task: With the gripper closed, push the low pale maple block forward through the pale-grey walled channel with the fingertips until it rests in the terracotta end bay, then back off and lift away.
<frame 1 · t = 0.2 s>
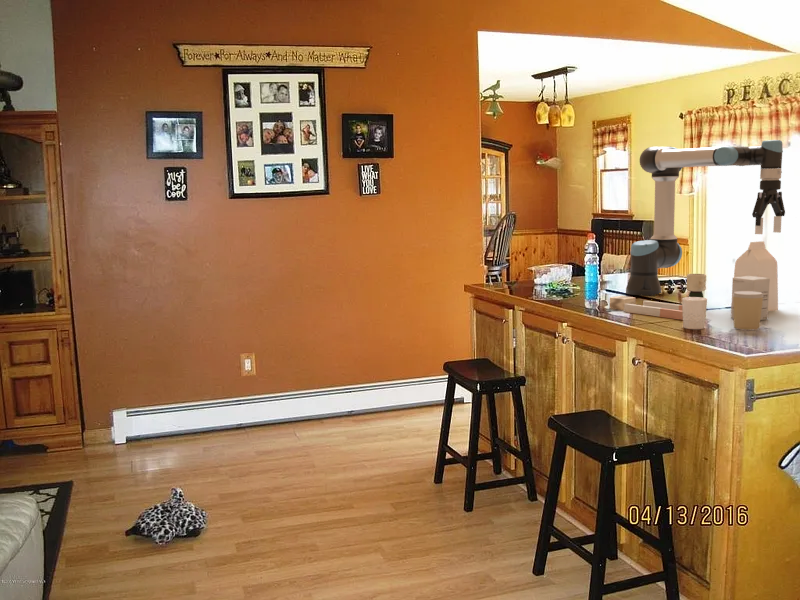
hand: (768, 233, 310), 28 cm above the counter, tool pointing down, fingers open, 13 cm apart
channel: (663, 313, 292), on the counter
character mug: (695, 307, 305), on the counter
milk: (754, 310, 297), on the counter
maple block: (622, 308, 307), on the counter
supplement box: (748, 319, 277), on the counter
coffee cup: (746, 328, 260), on the counter
white cup: (693, 328, 263), on the counter
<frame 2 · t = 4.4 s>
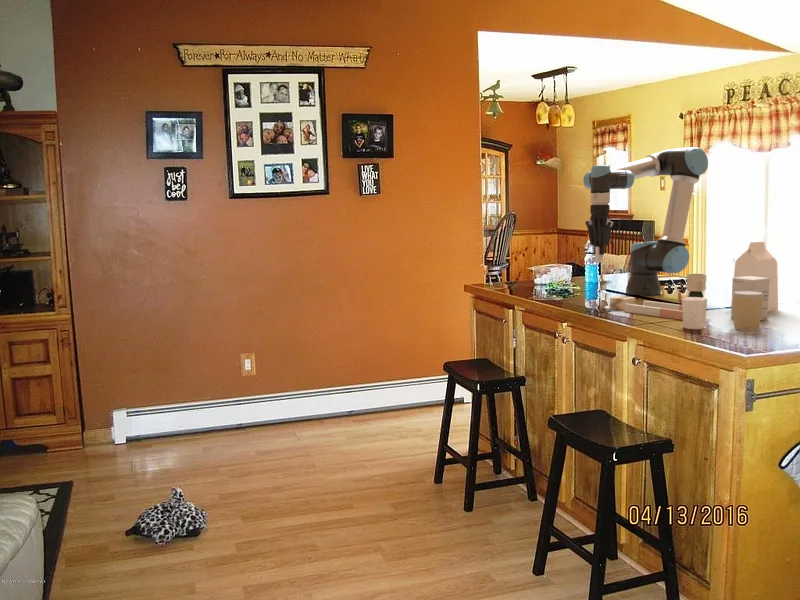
hand: (598, 262, 314), 17 cm above the counter, tool pointing down, fingers closed
nothing on the counter moved.
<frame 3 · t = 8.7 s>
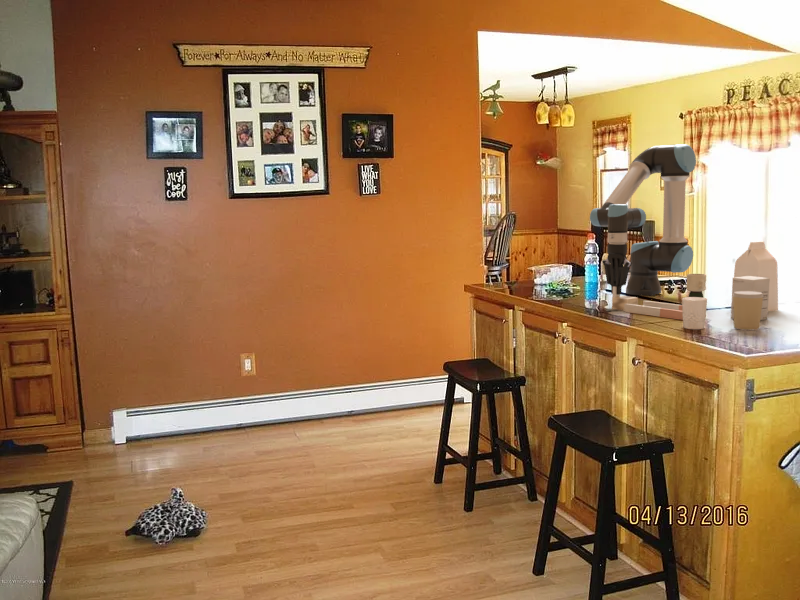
hand: (616, 302, 309), 2 cm above the counter, tool pointing down, fingers closed
maple block: (624, 308, 306), on the counter, touching gripper
everything else where it was.
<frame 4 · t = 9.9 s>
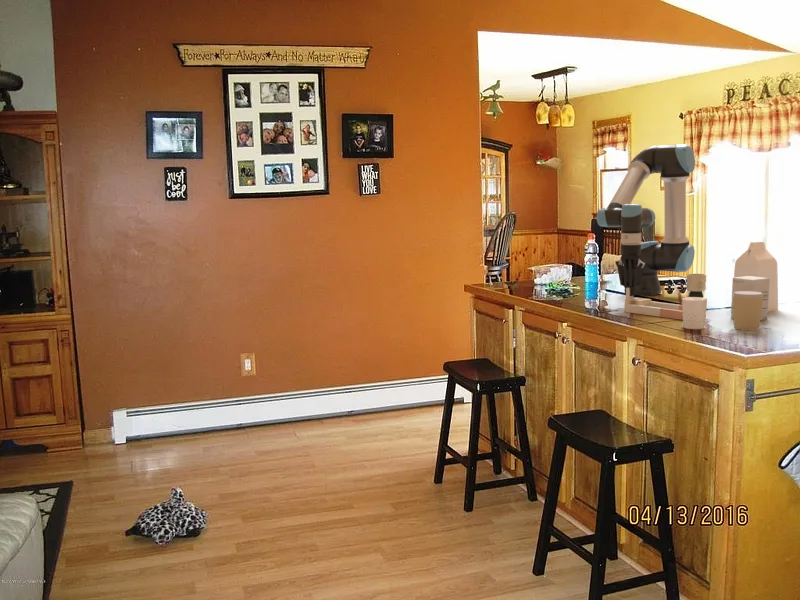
hand: (629, 304, 304), 2 cm above the counter, tool pointing down, fingers closed
maple block: (637, 310, 300), on the counter
everything else where it was.
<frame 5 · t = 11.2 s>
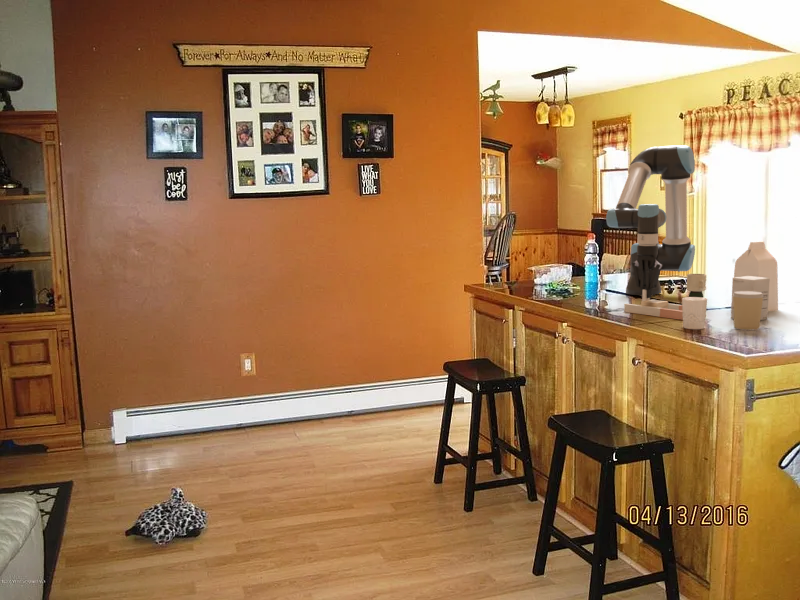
hand: (645, 306, 298), 2 cm above the counter, tool pointing down, fingers closed
maple block: (654, 313, 294), on the counter
everything else where it was.
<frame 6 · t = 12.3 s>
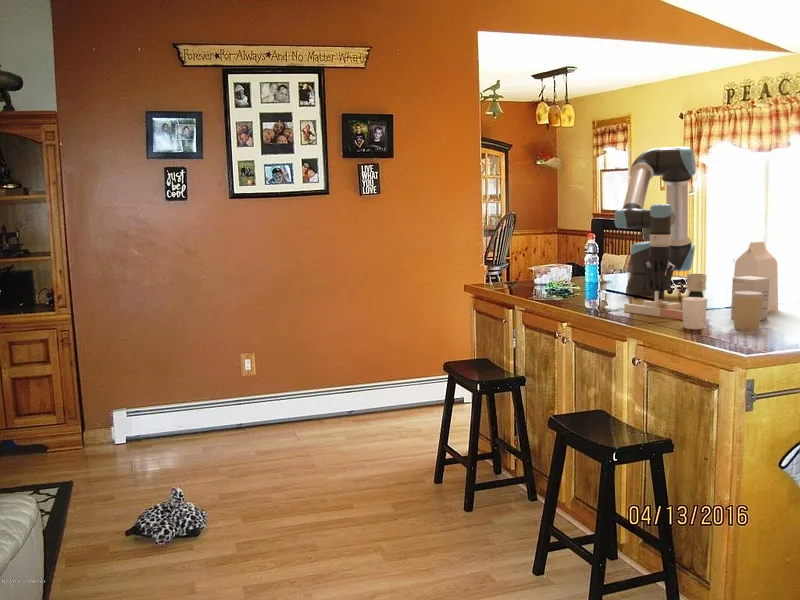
hand: (658, 307, 293), 2 cm above the counter, tool pointing down, fingers closed
maple block: (666, 314, 290), on the counter
everything else where it was.
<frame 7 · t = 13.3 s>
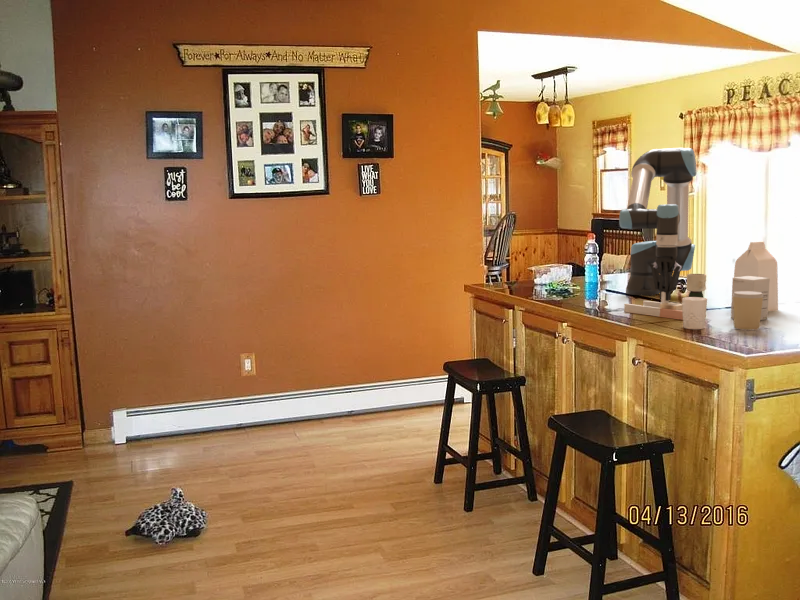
hand: (664, 308, 291), 2 cm above the counter, tool pointing down, fingers closed
maple block: (673, 316, 287), on the counter, touching gripper
everything else where it was.
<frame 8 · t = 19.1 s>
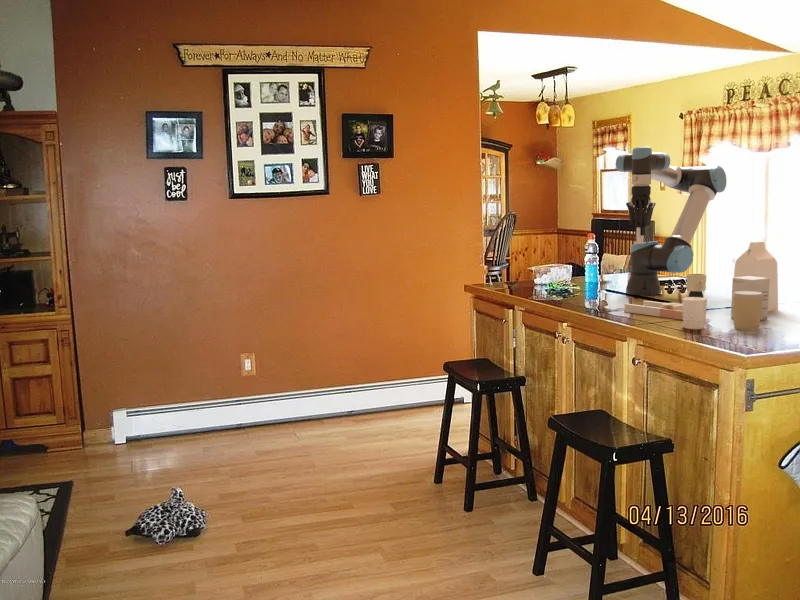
hand: (639, 243, 319), 24 cm above the counter, tool pointing down, fingers closed
maple block: (674, 316, 287), on the counter
everything else where it was.
at the end: maple block inside the target area (3.8 cm from its centre), on the counter; maple block tilted 0° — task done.
